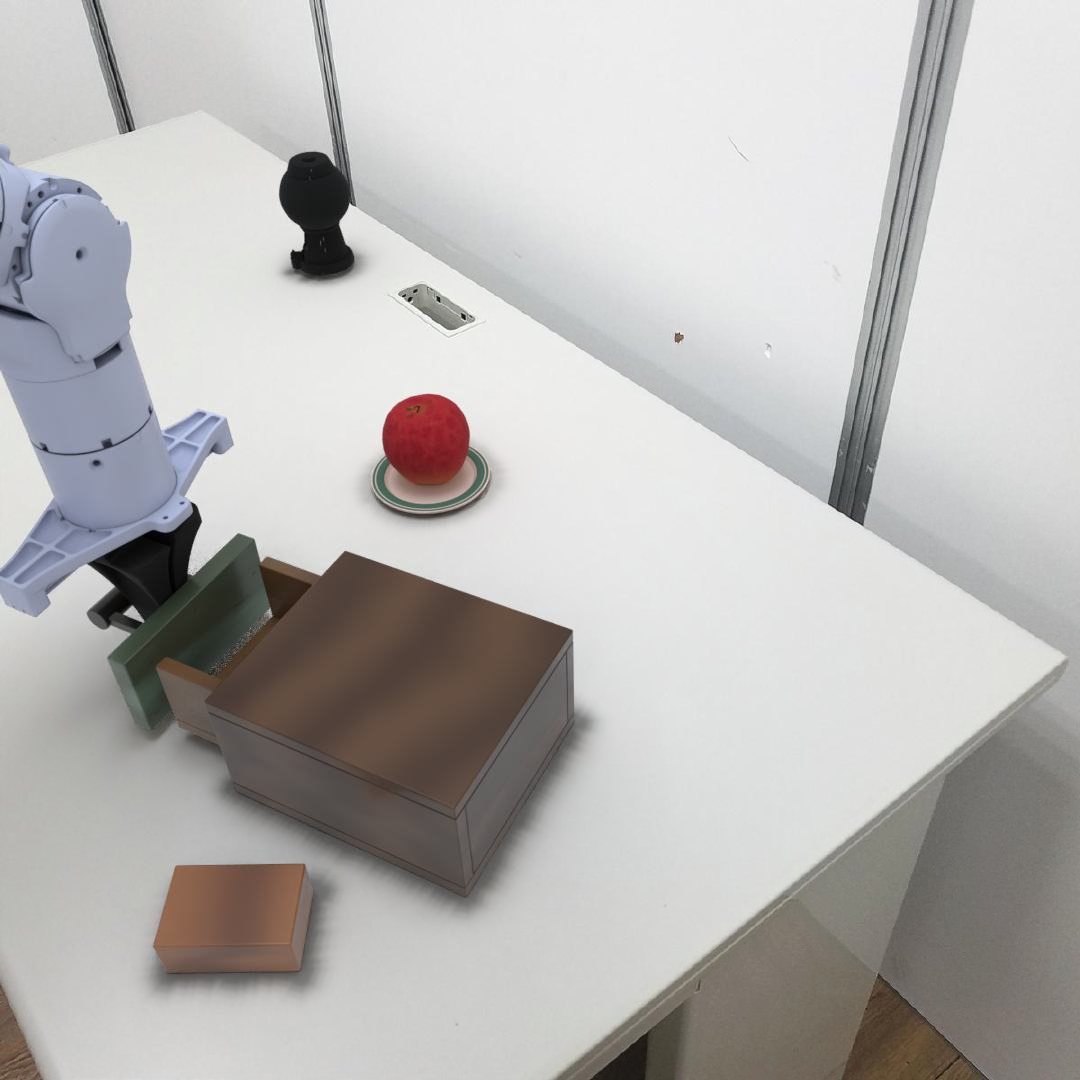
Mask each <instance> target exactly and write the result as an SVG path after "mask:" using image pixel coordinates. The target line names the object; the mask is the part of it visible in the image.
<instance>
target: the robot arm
mask: <svg viewBox="0 0 1080 1080" xmlns="http://www.w3.org/2000/svg"><path fill="white" fill-rule="evenodd" d="M10 157H11V148H10V146H9V145H7V144H6V143H3V142H1V141H0V373H1V376H2V378H3V380H4V382H5V385H6V387H7V389H8V392H9V393H10V396H11V399H12V401H13V404H14V406H15V408H16V411H17V413H18V415H19V417H20V419H21V422H22V425H23V427H24V429H25V431H26V434H27V437H28V439H29V441H30V444H31V446H32V448H33V451H34V454H35V455H36V458H37V461H38V463H39V466H40V467H41V470H42V472H43V474H44V477H45V479H46V481H47V484H48V486H49V488H50V491H51V494H52V495H53V498H52V499H51V501H50V502H49V504H48V505H47V506H46V508H45V510H44V511H43V512H42V513H41V515H40V517H38V519H37V521H36V523H35V524H34V525H33V527H32V528H31V530H30V532H29V533H28V534H27V535H26V537H25V538H24V540H23V541H22V543H21V544H20V545H19V547H18V548H17V550H16V551H15V552H14V553H13V555H12V556H11V558H9V559H8V560H7V561H6V563H5V564H4V565H3V566H1V568H0V596H1V598H2V600H3V602H4V604H5V605H6V606H7V607H10V608H12V609H14V610H15V611H19V612H20V613H23V614H26V615H28V616H31V617H33V618H38V617H39V616H40V615H41V614H42V613H43V612H44V611H45V610H46V609H48V608H49V607H50V606H51V601H50V598H49V596H48V595H49V594H51V592H53V591H54V590H55V589H56V588H57V587H58V586H60V585H61V584H62V583H63V582H64V581H65V580H66V579H67V578H70V576H71V575H73V574H74V573H75V572H76V571H77V570H78V569H79V568H81V567H83V566H85V565H88V566H89V567H90V568H91V569H93V570H94V571H96V572H97V573H98V574H100V575H101V576H102V577H103V578H105V579H106V580H107V581H108V582H110V584H111V585H113V587H116V588H117V589H118V590H119V591H120V592H121V593H122V594H123V595H124V596H125V597H126V598H127V599H128V600H129V602H130V603H131V604H132V605H133V606H132V607H133V608H134V609H135V611H136V612H137V613H138V615H139V616H140V617H141V619H142V620H143V622H145V621H146V620H147V619H148V618H149V617H150V616H151V615H152V614H153V613H154V612H155V611H156V610H157V609H158V608H159V607H160V606H161V605H163V604H164V603H165V602H166V601H167V600H168V599H169V598H170V597H171V596H172V595H173V594H174V593H175V592H176V591H177V590H178V589H179V588H180V587H182V586H183V585H184V584H185V583H186V582H187V579H188V574H189V566H190V561H191V560H190V559H191V555H192V551H193V547H194V543H195V540H196V538H197V534H198V532H199V530H200V528H201V525H202V523H203V519H202V516H201V513H200V510H199V507H198V505H197V504H196V503H195V502H193V501H191V500H190V499H189V498H188V497H186V494H187V493H188V491H189V489H190V488H191V486H192V484H193V482H194V481H195V478H196V477H197V475H198V473H199V472H200V470H201V468H202V466H203V464H204V462H205V461H206V459H207V458H208V457H210V455H212V454H216V455H220V456H221V455H224V454H226V453H227V452H228V451H229V450H230V449H231V448H232V447H234V445H235V443H234V440H233V436H232V433H231V429H230V425H229V422H228V421H229V420H228V419H227V417H226V416H223V415H220V414H217V413H215V412H211V411H207V410H205V409H201V408H197V409H196V410H194V411H193V412H191V413H190V414H189V415H187V416H186V417H183V418H182V419H181V420H179V421H177V422H175V423H173V424H172V425H170V426H168V427H165V428H163V429H161V425H160V423H159V419H158V416H157V413H156V410H155V406H154V404H153V400H152V398H151V393H150V391H149V388H148V386H147V385H148V384H147V381H146V379H145V375H144V373H143V369H142V367H141V364H140V361H139V357H138V354H137V351H136V348H135V345H134V342H133V339H132V336H131V333H130V331H131V324H130V320H131V319H133V317H134V316H133V313H132V309H131V306H130V303H129V300H128V296H127V281H128V276H129V272H130V268H131V262H132V237H131V231H130V227H129V224H128V221H125V220H123V221H121V220H120V219H117V218H116V217H115V216H114V214H113V212H112V211H111V210H110V208H109V206H108V205H105V203H103V202H102V200H103V198H102V196H100V194H99V193H98V192H97V191H96V190H95V189H93V188H92V187H91V186H89V185H88V184H86V183H84V182H82V181H79V180H76V179H72V178H68V177H63V176H59V175H55V174H51V173H46V172H42V171H37V170H33V169H29V168H25V167H20V166H17V165H16V164H15V163H14V162H13V161H12V160H11V159H10Z"/></svg>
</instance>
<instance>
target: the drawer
mask: <svg viewBox="0 0 1080 1080" xmlns="http://www.w3.org/2000/svg"><path fill="white" fill-rule="evenodd" d="M321 576H322V575H320V574H318V573H315V572H313V571H309V570H306V569H304V568H301V567H299V566H295V565H293V564H291V563H287V562H285V561H281V560H278V559H276V558H273V557H271V556H266V557H265V558H264V559H263V560H262V561H261V558H260V555H259V550H258V547H257V543H256V539H255V538H253V537H251V536H248V535H245V534H242V533H236V534H235V535H234V536H233V537H232V538H231V539H229V541H228V542H227V543H226V544H225V545H224V546H223V547H221V548H220V550H218V551H217V552H216V554H214V555H213V556H212V557H211V558H210V559H209V560H207V562H206V563H204V564H203V566H201V568H199V569H198V570H197V571H196V572H195V573H194V574H193V575H192V574H189V573H188V579H187V582H186V583H185V584H184V585H183V586H182V587H180V588H179V589H178V590H177V591H176V592H175V593H174V594H173V595H172V596H171V597H170V598H169V599H168V600H167V601H166V602H165V603H164V604H163V605H161V606H160V607H159V608H158V609H157V610H156V611H155V612H154V613H153V614H152V615H151V616H150V617H149V618H148V619H147V620H146V621H140V620H138V619H135V618H132V617H130V616H129V615H126V612H127V611H128V610H130V609H131V608H132V607H134V606H133V605H132V604H131V603H130V602H129V600H128V599H127V598H126V597H125V596H124V595H123V594H122V593H121V592H120V591H119V590H118V589H117V588H116V587H115V586H113V587H112V588H111V589H110V590H109V591H108V592H107V593H106V594H105V595H103V596H102V597H101V598H99V600H98V601H97V602H95V603H94V604H93V605H92V606H91V607H90V608H89V609H88V610H87V611H86V616H87V618H88V620H89V621H90V622H91V623H92V624H93V625H94V626H95V627H96V628H98V629H100V630H102V631H106V630H108V629H109V628H110V627H114V628H116V629H119V630H120V631H123V632H125V633H128V634H129V636H127V637H126V638H125V639H124V640H123V641H122V642H121V643H120V644H119V645H118V646H117V647H116V648H115V649H114V650H112V651H111V653H109V654H108V655H107V656H106V660H107V661H108V664H109V667H110V669H111V671H112V673H113V676H114V678H115V680H116V683H117V685H118V687H119V690H120V692H121V694H122V697H123V699H124V701H125V704H126V706H127V708H128V711H129V713H130V716H131V718H132V720H133V722H134V725H136V726H138V727H141V728H143V729H145V730H147V731H149V732H153V731H154V730H155V729H157V727H158V726H159V725H160V724H161V723H162V721H164V720H165V719H166V718H167V716H169V714H170V713H171V712H172V714H173V716H174V718H175V721H176V723H177V726H178V728H179V729H181V730H184V731H185V732H188V733H190V734H193V735H195V736H198V737H199V738H202V739H204V740H207V741H208V742H211V743H213V744H216V745H217V746H220V745H219V742H218V739H217V737H216V734H215V731H214V728H213V725H212V723H211V720H210V717H209V714H208V711H207V708H206V705H205V702H204V701H205V700H206V699H207V697H208V696H209V695H210V694H211V693H212V692H213V691H214V690H215V689H216V688H217V687H218V686H219V685H220V684H221V682H222V681H223V680H224V679H225V678H226V677H227V676H228V675H229V674H230V673H231V672H232V671H233V670H234V669H235V668H236V666H237V665H238V664H239V663H240V662H241V661H242V660H243V659H244V658H245V657H246V656H247V655H248V654H249V653H250V652H251V650H252V649H253V648H254V647H255V646H256V645H257V644H258V643H259V642H260V641H261V640H262V639H263V638H264V637H265V635H266V634H267V633H268V632H269V631H270V630H271V629H272V628H273V627H274V626H275V625H276V624H277V623H278V622H279V621H280V619H281V618H282V617H283V616H284V615H285V614H286V613H287V612H288V611H289V610H290V609H291V608H292V607H293V606H294V605H295V603H296V602H297V601H298V600H299V599H300V598H301V597H302V596H303V595H304V594H305V593H306V592H307V591H308V590H309V588H310V587H311V586H312V585H313V584H314V583H315V582H316V581H317V580H318V579H319V578H320V577H321ZM269 610H270V612H271V617H270V618H269V619H268V620H267V621H266V622H265V623H264V624H263V625H262V626H261V627H260V628H259V630H257V631H256V633H254V635H253V636H252V637H250V639H249V640H248V641H247V642H246V643H245V644H244V645H243V646H242V648H240V649H239V650H238V652H237V653H236V654H235V655H234V656H233V657H232V658H231V659H230V660H229V661H228V662H227V664H225V665H224V667H222V669H220V671H218V673H217V674H216V675H215V676H214V675H212V674H209V672H210V671H211V670H213V668H214V667H215V666H216V665H217V664H218V663H219V662H220V661H221V660H222V659H223V658H224V657H225V656H226V655H227V654H228V653H229V651H231V650H232V649H233V647H234V646H235V645H236V644H237V643H238V642H239V641H240V640H241V639H242V638H243V637H244V636H245V635H246V634H247V633H248V631H250V630H251V628H253V627H254V625H256V623H257V622H259V620H260V619H261V618H262V617H263V616H264V615H265V614H266V613H267V612H268V611H269Z"/></svg>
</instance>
